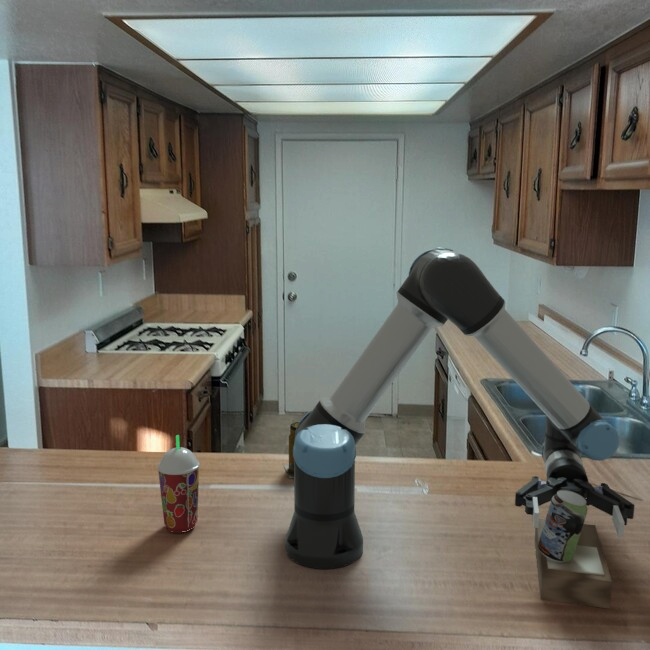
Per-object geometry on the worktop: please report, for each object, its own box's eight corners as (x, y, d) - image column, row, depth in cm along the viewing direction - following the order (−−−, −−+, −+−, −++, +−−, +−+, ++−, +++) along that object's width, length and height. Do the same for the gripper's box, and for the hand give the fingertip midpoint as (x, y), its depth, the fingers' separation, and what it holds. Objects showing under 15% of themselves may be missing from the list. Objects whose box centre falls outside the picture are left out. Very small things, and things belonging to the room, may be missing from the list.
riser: (540, 599, 115) (542, 570, 114) (534, 541, 134) (536, 517, 133) (609, 608, 112) (612, 579, 111) (593, 548, 131) (595, 523, 130)
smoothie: (209, 526, 140) (206, 435, 136) (176, 541, 134) (171, 446, 130) (185, 513, 145) (182, 425, 142) (152, 527, 139) (148, 435, 136)
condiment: (311, 463, 173) (311, 419, 171) (318, 476, 165) (318, 430, 163) (283, 466, 171) (283, 421, 169) (289, 479, 163) (288, 432, 161)
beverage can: (534, 546, 121) (541, 484, 119) (577, 550, 120) (584, 488, 118) (540, 564, 115) (546, 500, 113) (584, 569, 114) (592, 504, 112)
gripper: (631, 500, 132) (656, 555, 111) (500, 486, 138) (501, 536, 117) (635, 463, 130) (660, 513, 110) (502, 451, 136) (503, 496, 116)
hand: (578, 525), depth 114 cm, fingers open, 13 cm apart
